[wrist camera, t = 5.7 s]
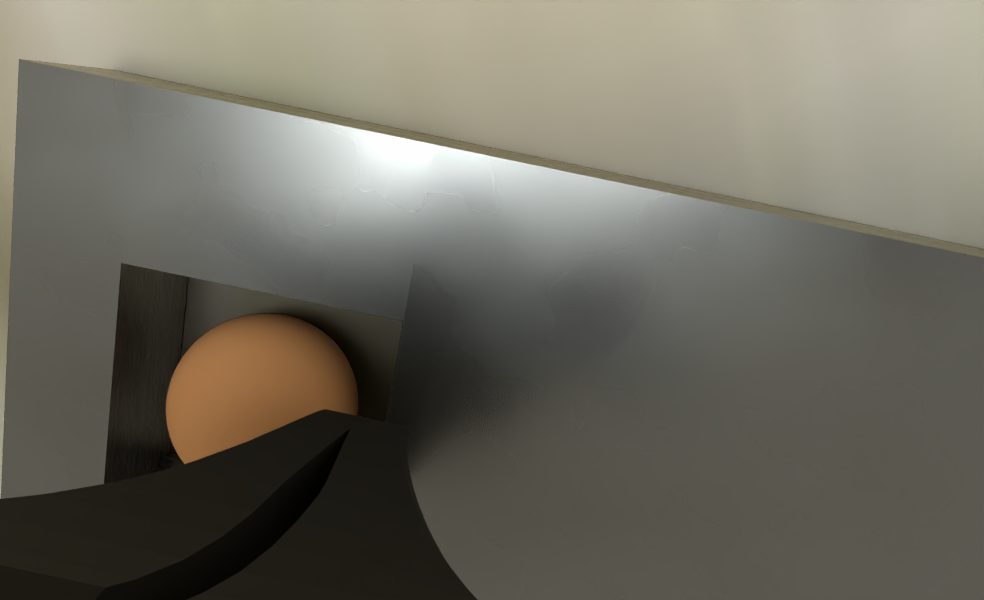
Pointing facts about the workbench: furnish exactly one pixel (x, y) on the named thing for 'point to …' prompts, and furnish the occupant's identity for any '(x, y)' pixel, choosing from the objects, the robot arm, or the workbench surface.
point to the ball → (254, 383)
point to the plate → (516, 344)
